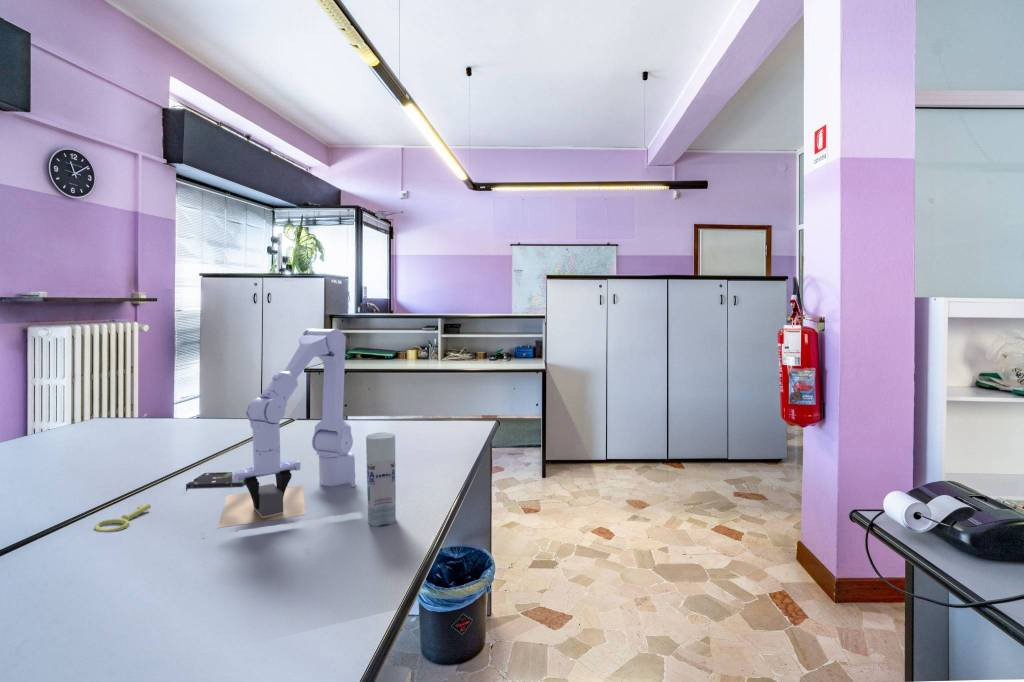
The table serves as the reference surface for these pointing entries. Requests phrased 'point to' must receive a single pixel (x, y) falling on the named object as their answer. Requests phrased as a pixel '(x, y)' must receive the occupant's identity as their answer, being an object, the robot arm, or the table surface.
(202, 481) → the disk drive
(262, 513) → the block
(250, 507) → the oak board
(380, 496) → the spray paint can
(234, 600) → the table surface
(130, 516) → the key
